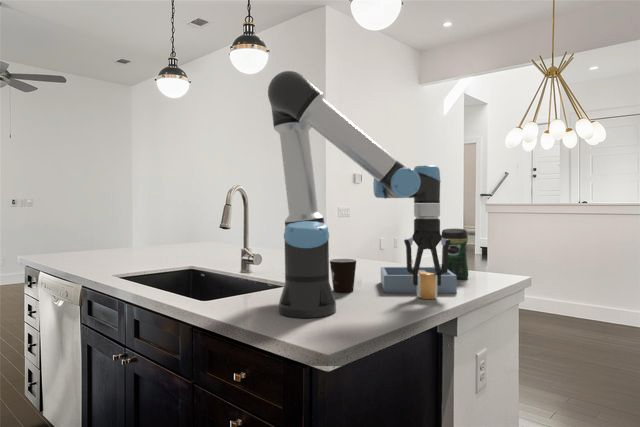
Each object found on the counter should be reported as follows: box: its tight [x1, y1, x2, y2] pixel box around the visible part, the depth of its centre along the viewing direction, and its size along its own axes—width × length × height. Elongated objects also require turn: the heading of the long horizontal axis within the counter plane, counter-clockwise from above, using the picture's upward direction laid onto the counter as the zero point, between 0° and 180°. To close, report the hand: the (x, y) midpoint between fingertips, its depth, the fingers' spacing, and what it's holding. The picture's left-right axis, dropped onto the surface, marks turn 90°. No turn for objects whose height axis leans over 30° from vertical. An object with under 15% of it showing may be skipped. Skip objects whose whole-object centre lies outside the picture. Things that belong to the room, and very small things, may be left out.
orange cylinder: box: [418, 273, 436, 300], centre depth 128 cm, size 5×5×7 cm
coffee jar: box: [441, 228, 469, 280], centre depth 162 cm, size 10×8×19 cm
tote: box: [380, 266, 458, 294], centre depth 144 cm, size 18×22×6 cm
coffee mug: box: [329, 258, 357, 294], centre depth 141 cm, size 12×9×10 cm
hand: (426, 296), depth 128 cm, fingers closed on orange cylinder, 4 cm apart
